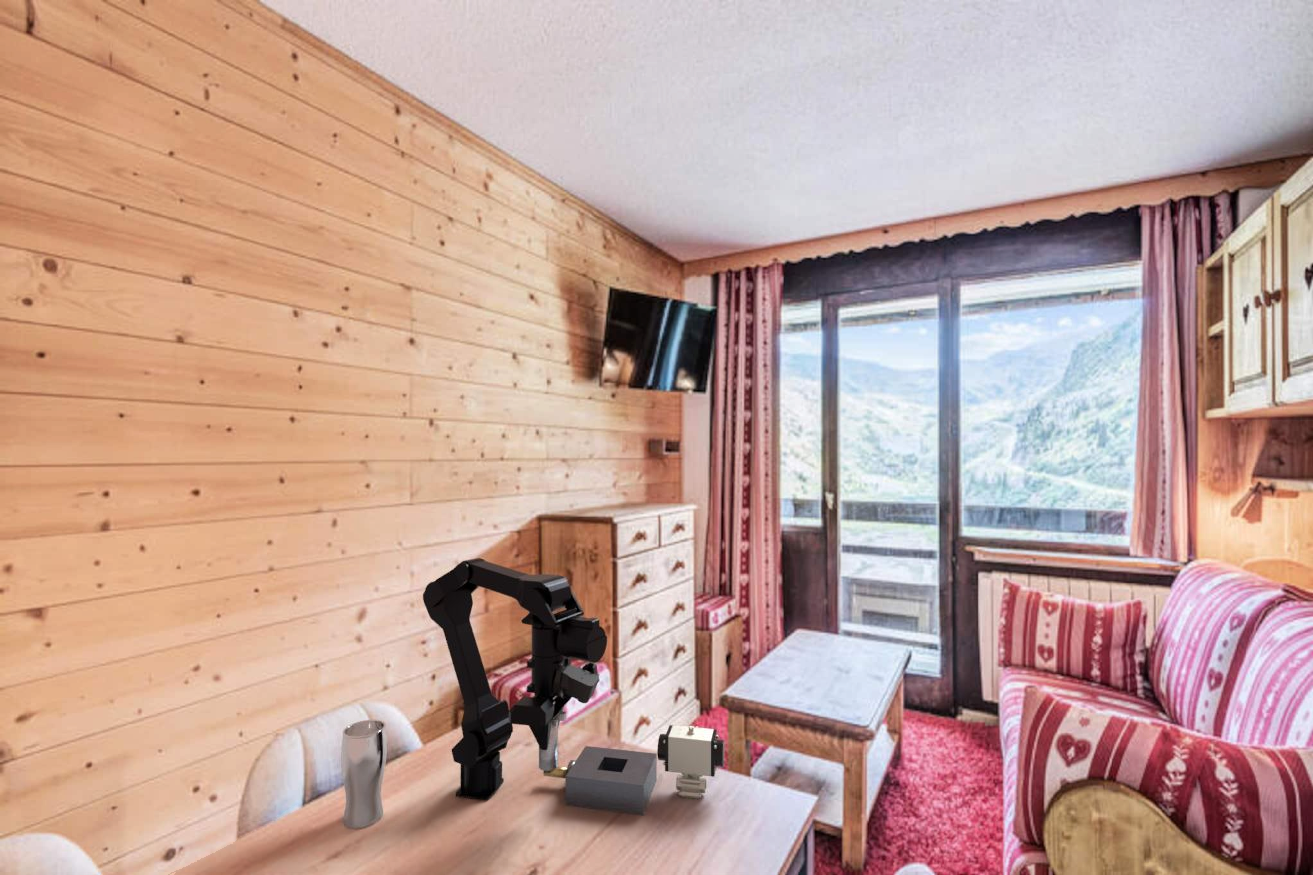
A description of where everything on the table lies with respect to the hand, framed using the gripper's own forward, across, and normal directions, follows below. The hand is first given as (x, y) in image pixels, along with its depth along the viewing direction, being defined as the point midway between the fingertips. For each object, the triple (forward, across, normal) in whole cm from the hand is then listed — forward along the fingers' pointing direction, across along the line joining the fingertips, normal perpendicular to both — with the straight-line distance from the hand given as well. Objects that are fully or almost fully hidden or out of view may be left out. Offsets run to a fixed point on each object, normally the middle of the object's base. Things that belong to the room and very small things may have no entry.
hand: (548, 744), depth 102 cm
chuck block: (+12, +9, -6) cm, 16 cm away
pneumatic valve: (+12, +12, -23) cm, 29 cm away
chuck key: (+4, 0, 0) cm, 4 cm away
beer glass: (+12, -7, +30) cm, 33 cm away
